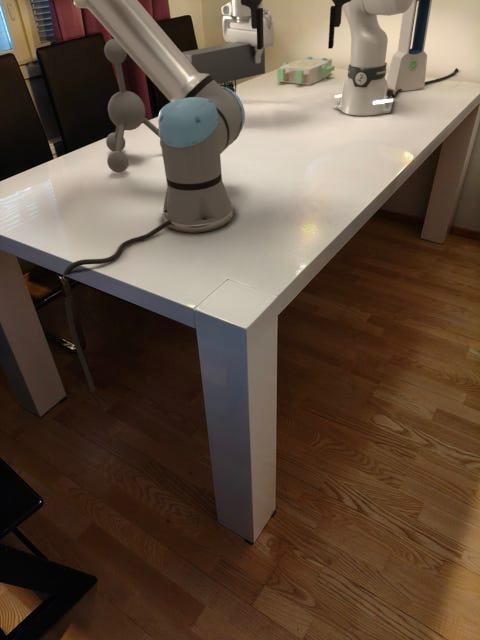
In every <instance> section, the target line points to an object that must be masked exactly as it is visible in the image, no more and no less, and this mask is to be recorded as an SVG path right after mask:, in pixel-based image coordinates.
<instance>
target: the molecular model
mask: <svg viewBox="0 0 480 640" xmlns="http://www.w3.org/2000/svg"><path fill="white" fill-rule="evenodd" d="M103 51H104V55H105V57H106V59H107V60H108V61H109V62H110V63H112V64H114V65H115V71H116V77H117V82H118V87H119V91H118V92H115V93H114V94H113V95H112V96H111V98H110V99H109V101H108V105H107V112H108V117H109V119H110V121H111V122H112V123H113V125H115V131H114V132H111V133H109V134H108V135H107V137H106V140H105V144H106V147H107V148H108V149H109V150H110V153H109V154H108V156H107V159H106V160H107V166H108V168H109V169H110V170H111V172H114V173H117V174H121V173H123V172H126V171H127V169H128V167H129V163H130V161H129V158H128V155H126V153H124V152H123V150H124V149H125V147H126V140H125V139H126V138H124V136H125V131H133V130H136V129H138V128H139V127H140V126H142V124H143V125H145V126H146V127H147V128H148V129H149V130H150V131H152V132H153V133H154V134H155V135H156V136H157V137H158V138H160V137H159V132H158V127H157V126H156V125H154V124H153V123H152V122H151V121H150V120H149V119H148V118H147V117H146V106H145V104H144V102H143V100H142V98H141V97H140V96H139V95H138V94H136V93H135V92H132V91H130V90H127V89H126V84H125V77H124V73H123V67H122V63H123V62H125V60H126V59H127V56H128V53H127V52H126V51H125V50H124V49H123V48H122V46H121V45H120V44H119V43H118V42H117V41H116V40H115V39H114V38H111V39H109V40H107V42H106V43H105V45H104V48H103ZM159 146H160V147H161V141H160V140H159Z"/></svg>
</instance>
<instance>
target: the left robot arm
mask: <svg viewBox="0 0 480 640" xmlns="http://www.w3.org/2000/svg"><path fill="white" fill-rule="evenodd" d="M70 1H71V2H72V4H73V5H74V6H75V7H77V8H79V9H88V11H90V13H91V14H92V15H93V16H94V17H95V18H96V19H97V21H98V22H99V23H100V25H102V26H103V27H104V29H105V30H106V31H107V32H108V33H109V34H110V35H111V36H112V38H113V39H115V40H116V41H117V42H118V43H119V44H120V45H121V46H122V48H123V49H124V50H125V51H126V52H127V55H128V56H129V57H130V59H132V60H133V62H134V63H135V64H136V65H137V66H138V67H139V68H140V69H141V71H142V72H143V73H144V74H145V75H146V76H147V78H148V79H150V81H151V82H152V83H153V84H154V85H155V86H156V87H157V89H158V90H159V91H160V92H161V94H162V95H164V97H165V98H166V99H167V100H168V101H169V102H168V103H167V104H165V105H164V106H163V107H162V108H161V109H160V110H159V113H158V117H157V123H158V127H157V129H158V132H159V137H158V138H159V142H160V141H161V146H160V148H161V154H162V159H163V168H164V174H165V180H166V190H165V191H166V192H165V196H164V203H163V207H162V218H163V223H162V224H160V225H158V226H157V227H155V228H153V230H151V231H149V232H147V233H145V234H142V235H139V236H136V237H132V238H130V239H127V240H125V241H123V242H122V243H121V244H120V245H118V247H117V249H116V251H115V252H114V253H113V254H111V255H110V256H107V257H104V258H88V259H86V258H85V259H80V260H76V261H73V262H72V263H70V264H69V265H68V266H67V267H66V268H65V270H64V271H63V273H62V275H63V276H68V275H69V274H70V273H71V272H72V271H73V270H74V269H76V268H78V267H81V266H85V265H86V266H87V265H102V264H107V263H111V262H113V261H115V260H117V259H118V258H119V257H120V256H121V255H122V253H123V251H124V249H126V248H127V247H128V246H129V245H132V244H134V243H138V242H142V241H144V240H147V239H149V238H152V237H153V236H154V235H155V236H156V234H157V233H160V231H163V230H164V229H166V228H169V229H171V230H173V231H177V232H180V233H190V234H191V233H192V234H193V233H194V234H195V233H196V234H197V233H205V232H206V233H207V232H210V231H215V230H216V229H220V228H222V227H224V226H226V225H227V224H228V223H230V221H231V220H232V218H233V216H234V212H233V211H234V210H233V204H232V201H231V200H230V197H229V195H228V192H227V190H226V187H225V184H224V182H223V175H222V174H223V173H222V161H221V154H222V153H223V152H224V151H225V150H226V149H227V148H228V147H229V146H230V145H233V143H234V142H235V141H236V140H237V139H238V137H239V136H240V134H241V132H242V131H243V128H244V127H245V126H244V125H245V120H246V114H245V113H246V112H245V108H244V105H243V102H242V100H241V98H240V96H238V94H237V93H236V94H235V92H233V91H232V90H230V89H228V88H225V87H220V84H217V83H216V81H215V80H214V79H213V78H212V77H211V76H210V75H209V74H205V73H199V72H198V71H197V70H196V69H195V68H194V67H193V65H192V64H191V63H190V62H189V61H188V60H187V58H186V57H185V56H184V55H183V54H182V52H183V51H181V50H180V49H179V48H178V47H177V45H176V44H175V43H174V42H173V40H172V39H171V38H170V37H169V35H167V34H166V32H165V31H164V30H163V29H162V28H161V26H160V25H159V24H158V23H157V21H156V20H155V19H154V18H153V17H152V16H151V14H150V13H149V12H148V11H147V10H146V9H145V7H144V6H143V5H142V4H141V2H139V0H70ZM331 1H332V3H333V4H334V5H331V6H330V12H329V26H328V28H329V29H328V45H327V49H329V50H330V49H333V48H334V44H335V43H334V42H335V29H336V28H340V25H341V24H342V14H343V10H342V6H343V5H344V4H345V3H348V2H350V1H351V0H331ZM261 2H262V3H263V0H241V4H242V5H245V6H247V7H249V8H250V10H251V26H252V29H257V49H262V48H263V47H264V36H263V10H264V7H262V8H259V5H260V3H261ZM64 304H65V310H66V316H67V317H66V318H67V322H68V326H69V330H70V335H71V337H72V341H73V343H74V346H75V350H76V352H77V356H78V357H79V360H80V364H81V367H82V368H83V371H84V374H85V378H86V380H87V383H88V386H89V390H90V392H91V393H95V392H96V388H95V385H94V380H93V378H92V375H91V373H90V369H89V366H88V364H87V361H86V358H85V355H84V353H83V349H82V347H81V344H80V341H79V337H78V334H77V331H76V327H75V322H74V315H73V310H72V303H71V298H69V297H65V296H64Z"/></svg>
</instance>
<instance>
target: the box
mask: <svg viewBox="0 0 480 640" xmlns="http://www.w3.org/2000/svg"><path fill="white" fill-rule="evenodd" d="M265 50H266V48H263V52H262V55H261V62H260V63H258V64H257V63H254V62H253V57H254V56H255V54H256V51H255V46H251V44H247V43H241V42H235V43H229V42H228V43H223V44H219V45H215V46H214V45H213V46H209V47H203V48H202V47H201V48H198V49H192V50H187V51H181V52H182V54H183V55H184V56H185V57H186V58H187V60H188V61H189V62H190V63H191V64H192V65H193V67H194V68H195V69H196V70H197V71H198V72H199V73H205V74H209V75H210V76H211V77H212V78H213V79H214V80H215V81H216V83H217V84H218V85H221V83H225V82H230V81H234V80H236V81H238V80H243V79H246V78H251V77H256V76H260V75H265V74H266V53H265V52H266V51H265Z"/></svg>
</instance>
